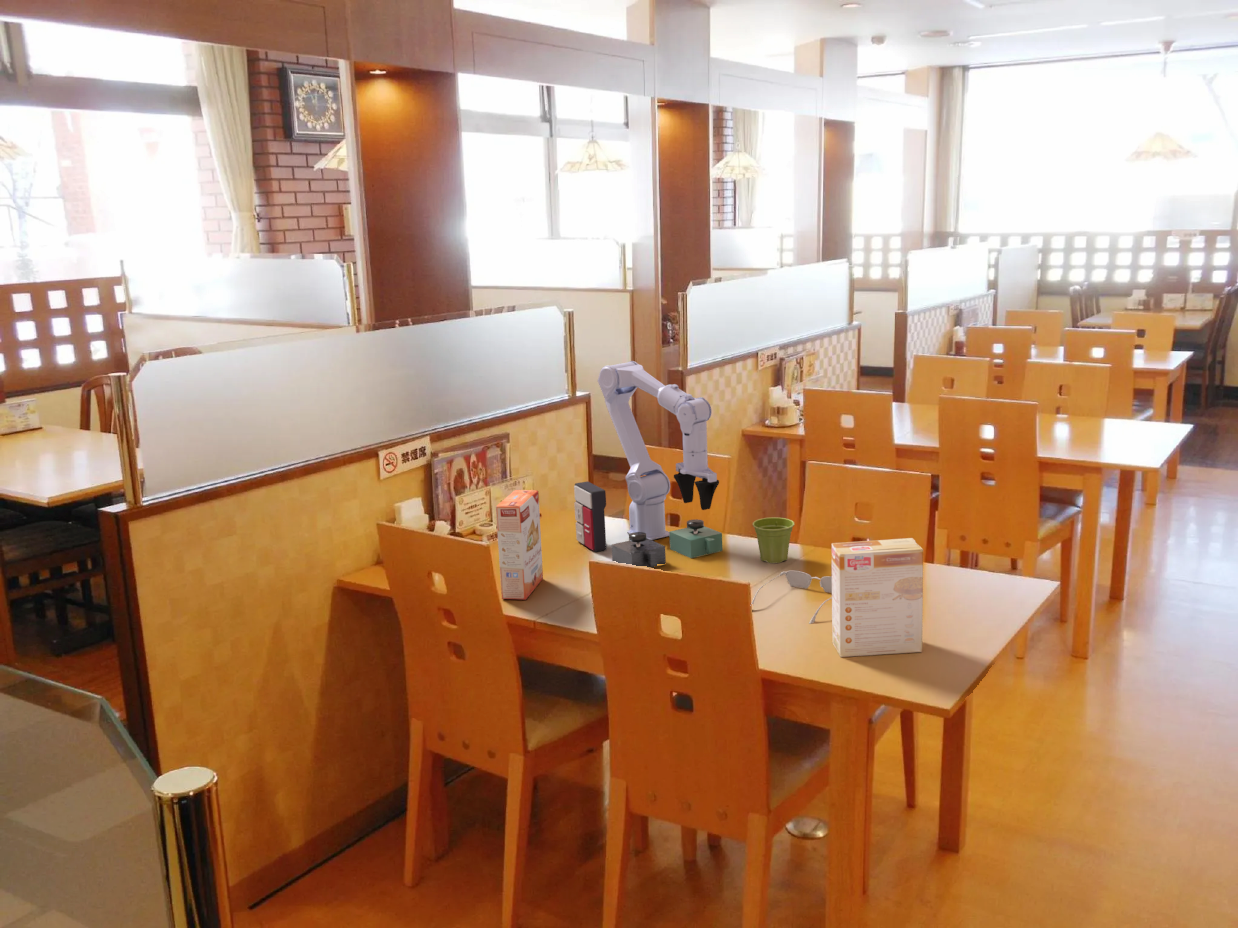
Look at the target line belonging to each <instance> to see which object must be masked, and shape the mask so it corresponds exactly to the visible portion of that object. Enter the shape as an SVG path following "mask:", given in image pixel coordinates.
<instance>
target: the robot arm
mask: <svg viewBox="0 0 1238 928" xmlns="http://www.w3.org/2000/svg"><path fill="white" fill-rule="evenodd" d="M597 382H598V386H599V388H600V390H601V393H602V396H603V398H604V403H605V406H606V408H607V411H608V413H609V417H610V419H611V421H612V424H613V426H614V430H615V431H616V434H617V436H618V440H619V442H620V444H621V447H622V450H623V453H624V454H625V457H626V459H627V462H628V465H629V467H630V469H629V470H628V472H627V474H626V475H625V481H626V485H627V492H628V495H629V497H630V499H631V500H632V501H631V502H630V504H629V507H628V513H629V514H628V516H629V518H628V519H629V530H626V533H627V534H628V535H629V534H630V533H633V532H644V533H646V538H648V539H650V540H652V541H654V540H658V539H661V538H665V537H670V535H669V532H670V531H668V530H666V517H665V515H666V513H665V511H666V509H665V500H666V499H667V495H668V494H669V493H670V490H671V481H670V478H669V477H668V475H667V474H666V473H665V471H664V470H663V468H662V465H660V464H658V463H657V462H655V461H654V460H652V459H651V457H650V454H649V452H648V449H647V447H646V444H645V441H644V439H643V437H642V435H641V432H640V429H639V426H638V423H637V422H636V418H635V416H634V414H633V411H632V409H631V407H630V404H629V401H630V399H631V397H632V396H633V395H634V393H635V392H636V390H637V389H640V390H642V391H644V392H645V393H647V394H649V395H651V396H653V397H655V398H656V399H657V403H658V404H659V406H661V407H662V408H664V409H665V410H667V411H669V412H670V413H671V414H673V415H674V416H676V419H677V421H678V423H679V426H680V430H681V434H682V454H683V455H682V456H683V457H682V458H683V459H682V460H683V461H682V462H677V463H675V471H676V472H678V473H675V474H673V479H674V480H675V481H676V483H677V485H678V488H679V490H680V494H681V497H682V501H683V503H684V504H689V503H693V502H694V489H695V487H696V488H697V489H696V490H697V492H698V497H699V505H700V509H701V510H702V511H706V510H710V509H711V508H712V507H711V506H712V502H713V499H714V494H715V492H716V489H717V488H718V486H719V484H720V480H719V479H718V476H717V475H718V474H717V472H714V471H713V469H711V468H710V467H709V464H708V462H709V460H708V431H707V429H708V428H707V425H708V423H707V422H708V421H709V420H711V416H712V406H711V404H710V403H709V401H708V400H707V399H706V398H705V397H693V394H691V393H687V392H685V391H684V390H683V389H680V388H679V387H680V386H679V385H678V384H676V383H674V384H667V385H665V384H664V383H662V382H661V381H659V380H658V379H657V378H655V377H654V376H652V375H651V374H650V373H648V372H647V371H646V370H645V369H644V365H642V364H639V363H638V362H636V360H635V361H634V360H630V361H627V362H622V363H616V364H611V365H610V364H609V365H604V366H603V367H602V368H601V369H600V371H599V375H598V379H597ZM696 478H699V479H702V480H696ZM694 486H695V487H694Z"/></svg>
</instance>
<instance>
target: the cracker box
mask: <svg viewBox="0 0 1238 928" xmlns="http://www.w3.org/2000/svg"><path fill="white" fill-rule="evenodd" d="M539 494H540V493H539V490H535V489H515V490H513V491H512V492H511V493H510V494H508V495H507V496H506V497H505V498H504V499H503V500H501V502H499V503H498V504H497V505H495V515H496V517H495V518H496V529H497V531H496V533H497V546H498V558H499V560H498V562H499V563H498V564H499V576H500V577H499V578H500V591H501V599H503V600H520V601H522V600H523V601H525V600H527V599H528V597H529V596H530V595H531V594H532V592H534V590H535V589H536V588H537V586H538V585H540V583H541V582H542V581H543V580H544V573H543V572H544V570H543V555H542V554H543V553H542V551H543V550H542V537H541V536H542V535H541V532H542V531H541V515H540V514H541V513H540V495H539Z"/></svg>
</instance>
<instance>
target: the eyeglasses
mask: <svg viewBox="0 0 1238 928" xmlns="http://www.w3.org/2000/svg"><path fill="white" fill-rule="evenodd" d="M783 575H785V578H786V580H787V582H788V585H789V586H790V587H795V588H800V589H806V590H808V589H809V587H810V586H811V583H812V580H813V579H816V580H820V581H819V586H820V588H822V589H823V591H824V592H825V593H829V594H832V576H822V577H821V578H819V577H818V576H811V574H809V573H806V572H803V571H799V570H787V571H782V572H780V573H779V574H778V575H777V576H775V577H773V578H772V579H770V580H769V581H768V582H766V583H764V584H763V585H761V586H760V587H759V588H758V590H757V591H756V592H755V595H754V597H753V599H752V601H751V604H753V605H754V603H755V601H756V597H757V595H758V593H759V592H760V590H761V589H762V588H764V586H766V584H768V583H770V582H771V581H773V580H775V579H776V578H778V577H781V576H783ZM830 600H832V596H831V597H829V598H827V599H826V600H824V601H823V603H821V604H820V606H819V607H818V608H817V610H815V613H814V614H813V616H812V617H811V619H810V620H809V622H808V624H810V625H811V624H813V623H815V621H816V617H817V615H818V613H819V611H820V610H821V608H822V606H823V605H825V604H826V602H828V601H830Z"/></svg>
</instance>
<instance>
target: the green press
mask: <svg viewBox="0 0 1238 928" xmlns="http://www.w3.org/2000/svg"><path fill="white" fill-rule="evenodd" d="M668 532H669V535H670V536H669V549H670V550H671V551H674V552H675V551H676V552H675V553H678V554H680V555H682V556H684V557H687V558H689V559H694V558H699V557H703V556H706V555H707V556H708V555H710V554H715V553H719V552H723V550H724V549H723V533H722V532H721V531H718V530H715V529H713V528H710V527H708V526H705V525H704V527H703V528H700V529H698V534H693V529H689V528H687V527H685V528H680V529H676V530H671V531H670V530H669V531H668Z"/></svg>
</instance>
